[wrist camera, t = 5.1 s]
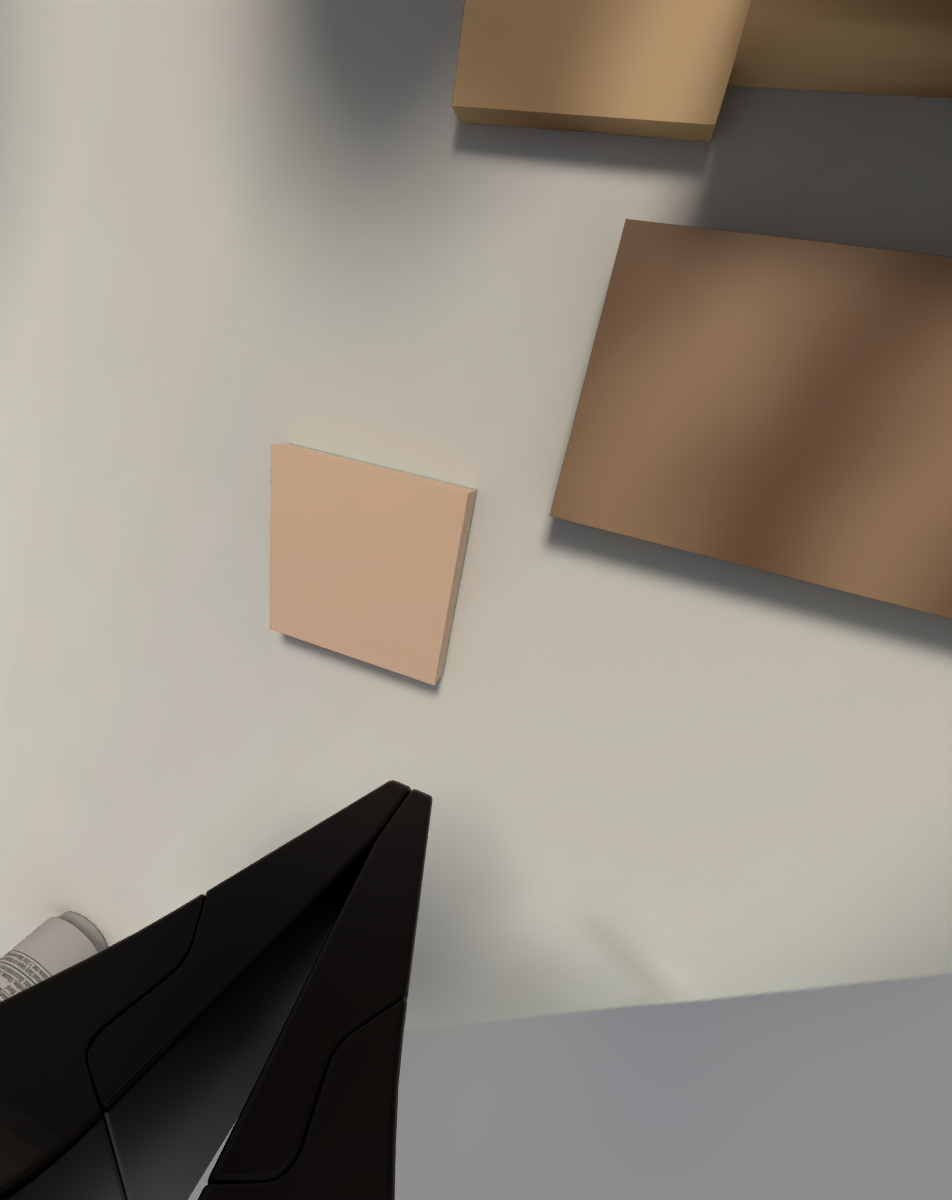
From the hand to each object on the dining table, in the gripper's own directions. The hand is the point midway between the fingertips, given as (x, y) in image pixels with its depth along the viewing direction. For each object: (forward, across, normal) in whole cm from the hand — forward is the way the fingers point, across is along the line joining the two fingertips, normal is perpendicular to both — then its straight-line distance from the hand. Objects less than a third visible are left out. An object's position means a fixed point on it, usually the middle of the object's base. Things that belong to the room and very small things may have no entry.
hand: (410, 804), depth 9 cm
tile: (+10, +3, 0) cm, 11 cm away
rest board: (+11, -7, -8) cm, 15 cm away
